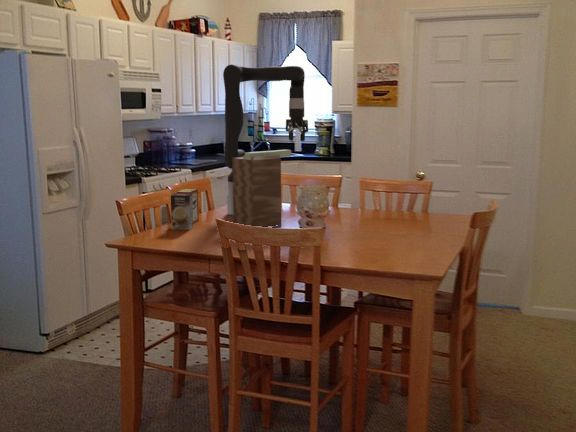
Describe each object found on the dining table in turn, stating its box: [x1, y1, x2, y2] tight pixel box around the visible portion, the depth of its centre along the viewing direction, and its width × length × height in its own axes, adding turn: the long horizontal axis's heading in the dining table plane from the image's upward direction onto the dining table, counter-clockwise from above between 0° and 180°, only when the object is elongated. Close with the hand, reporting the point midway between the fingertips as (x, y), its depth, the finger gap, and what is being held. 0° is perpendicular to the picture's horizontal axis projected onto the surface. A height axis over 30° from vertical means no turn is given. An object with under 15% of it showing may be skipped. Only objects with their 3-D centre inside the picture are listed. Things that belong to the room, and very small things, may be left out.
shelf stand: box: [232, 155, 282, 227], centre depth 299 cm, size 16×16×34 cm
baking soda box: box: [176, 188, 200, 224], centre depth 310 cm, size 10×6×16 cm
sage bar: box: [245, 149, 292, 160], centre depth 296 cm, size 4×24×3 cm, turn 130°
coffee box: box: [170, 192, 194, 231], centre depth 295 cm, size 9×6×16 cm
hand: (296, 140), depth 319 cm, fingers open, 8 cm apart
